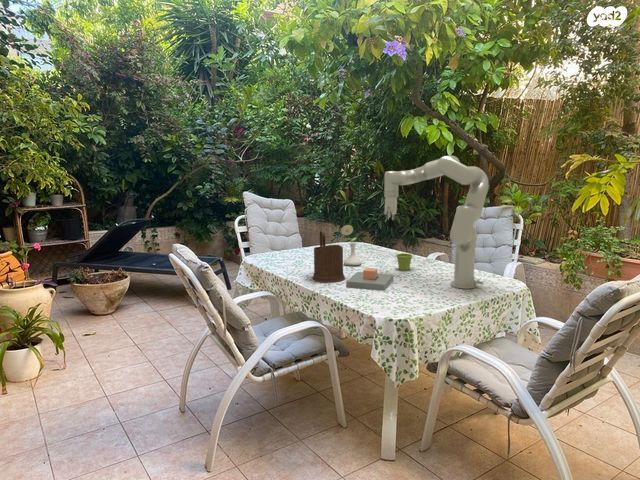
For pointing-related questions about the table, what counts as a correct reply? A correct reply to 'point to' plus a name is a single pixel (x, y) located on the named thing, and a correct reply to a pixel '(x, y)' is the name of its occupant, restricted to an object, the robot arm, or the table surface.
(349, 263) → the flower in vase
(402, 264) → the plant pot
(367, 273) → the plug
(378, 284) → the socket
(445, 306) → the table surface
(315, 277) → the brown cylinder
